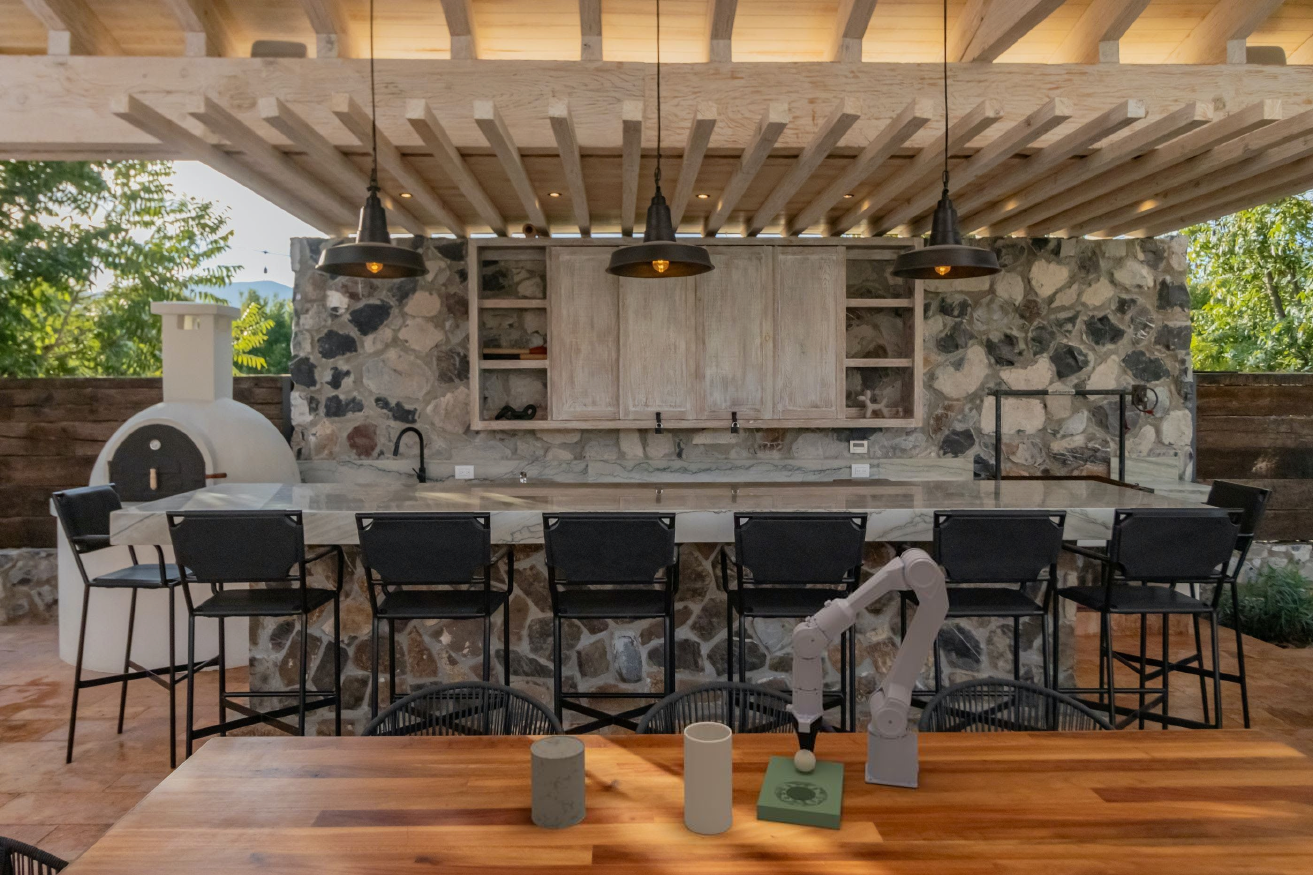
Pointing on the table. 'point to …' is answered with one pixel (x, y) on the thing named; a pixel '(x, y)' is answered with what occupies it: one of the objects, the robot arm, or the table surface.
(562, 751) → the grey marble cylinder
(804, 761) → the ball
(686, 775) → the cup
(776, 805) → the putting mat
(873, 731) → the robot arm
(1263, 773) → the table surface
